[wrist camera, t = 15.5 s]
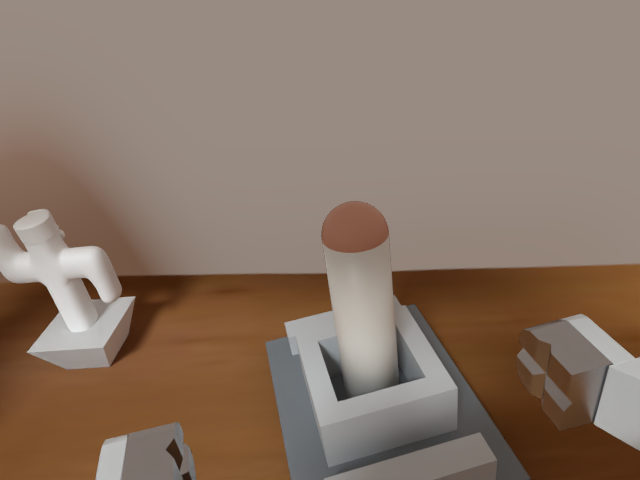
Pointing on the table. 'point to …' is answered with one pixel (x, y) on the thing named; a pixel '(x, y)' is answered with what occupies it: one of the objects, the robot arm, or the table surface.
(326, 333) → the jig
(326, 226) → the dome-capped white post
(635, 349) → the table surface
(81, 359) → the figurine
